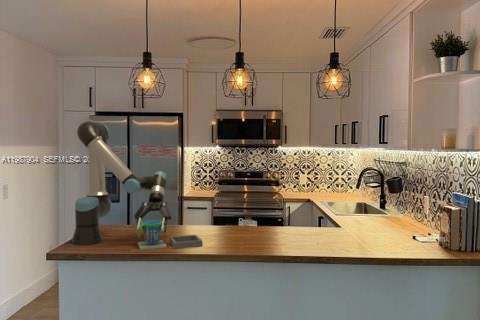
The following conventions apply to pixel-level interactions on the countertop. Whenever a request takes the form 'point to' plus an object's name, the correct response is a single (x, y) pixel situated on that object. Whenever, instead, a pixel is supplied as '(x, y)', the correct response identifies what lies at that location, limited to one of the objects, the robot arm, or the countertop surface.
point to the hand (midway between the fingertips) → (150, 229)
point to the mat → (151, 245)
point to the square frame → (185, 241)
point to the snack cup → (151, 230)
